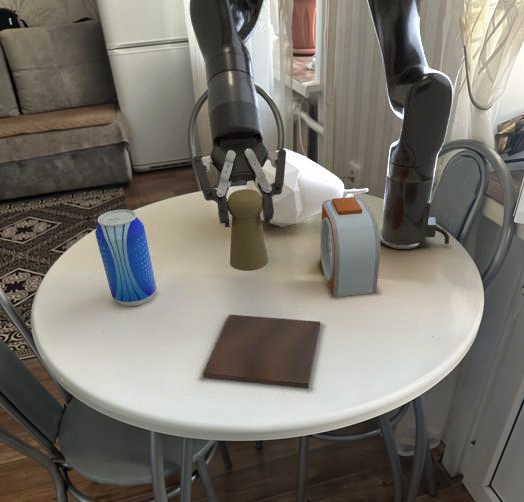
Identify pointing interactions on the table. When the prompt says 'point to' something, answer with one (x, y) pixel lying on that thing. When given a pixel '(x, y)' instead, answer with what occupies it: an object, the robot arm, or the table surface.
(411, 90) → the robot arm
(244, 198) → the olive game pawn
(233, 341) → the place mat
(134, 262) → the beer can
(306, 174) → the pear ornament
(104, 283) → the table surface
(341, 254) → the alarm clock
